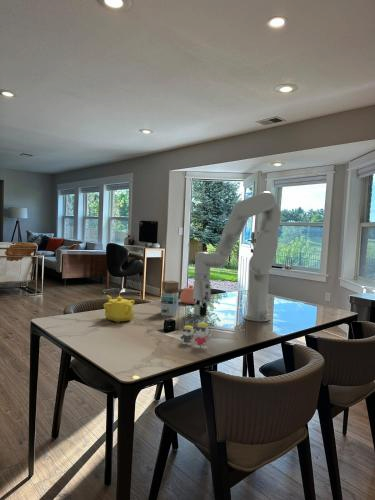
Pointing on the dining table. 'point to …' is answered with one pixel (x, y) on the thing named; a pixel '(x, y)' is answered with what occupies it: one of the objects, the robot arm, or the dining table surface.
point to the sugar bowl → (187, 295)
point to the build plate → (166, 326)
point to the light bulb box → (169, 304)
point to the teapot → (119, 309)
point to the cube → (198, 309)
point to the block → (170, 286)
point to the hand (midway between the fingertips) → (200, 313)
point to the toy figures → (201, 338)
